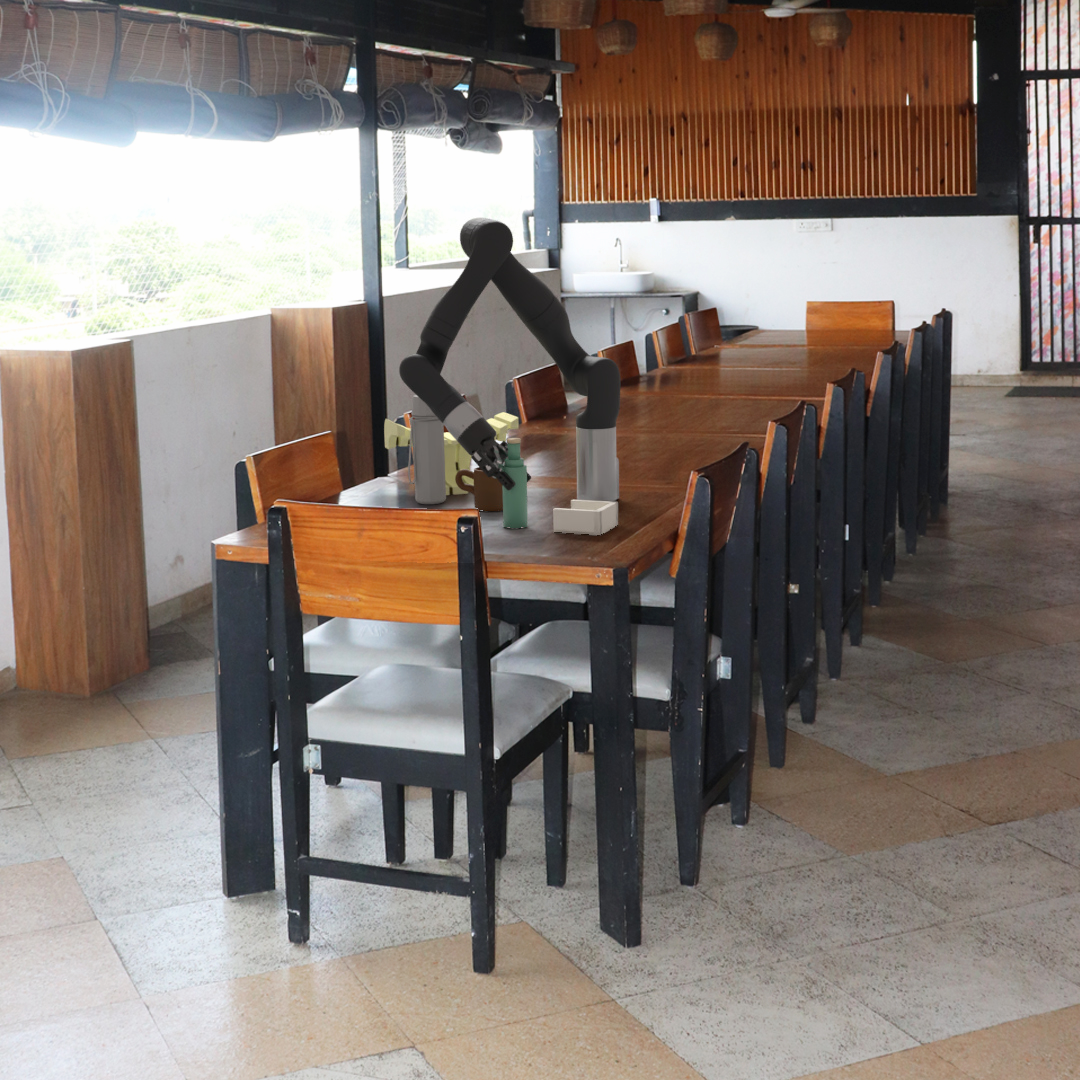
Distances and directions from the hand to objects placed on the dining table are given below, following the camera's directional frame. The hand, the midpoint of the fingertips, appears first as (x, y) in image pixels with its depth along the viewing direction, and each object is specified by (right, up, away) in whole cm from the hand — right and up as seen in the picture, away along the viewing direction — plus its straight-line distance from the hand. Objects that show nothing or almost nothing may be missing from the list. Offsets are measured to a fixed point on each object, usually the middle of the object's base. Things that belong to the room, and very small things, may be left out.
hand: (520, 484), depth 286 cm
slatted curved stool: (-17, +1, +50) cm, 53 cm away
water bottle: (-22, -3, +32) cm, 39 cm away
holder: (+13, -9, -1) cm, 16 cm away
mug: (-9, -5, +23) cm, 25 cm away
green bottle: (-1, -9, +2) cm, 9 cm away
